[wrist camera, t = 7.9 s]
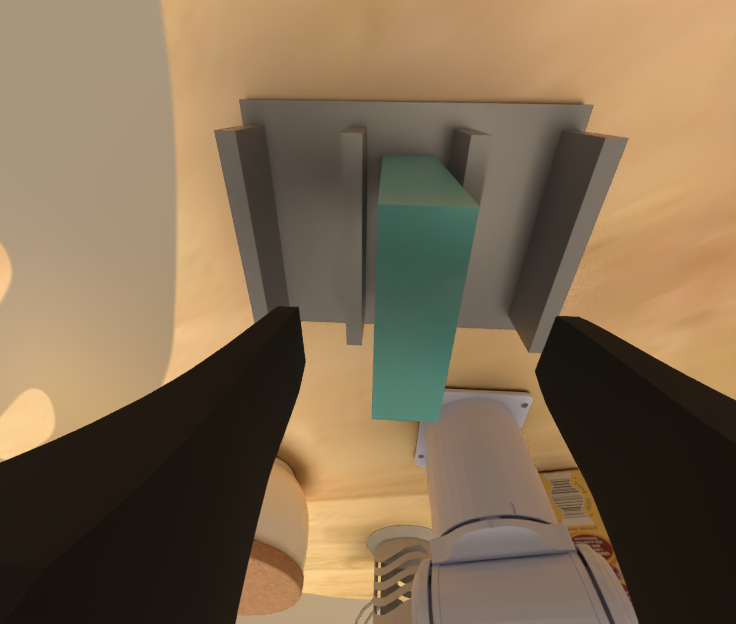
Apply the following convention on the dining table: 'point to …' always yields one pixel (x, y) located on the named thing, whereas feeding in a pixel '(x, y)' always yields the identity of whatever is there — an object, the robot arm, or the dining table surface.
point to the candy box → (580, 514)
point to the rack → (361, 190)
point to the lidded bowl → (277, 547)
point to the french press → (396, 570)
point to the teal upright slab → (418, 284)
